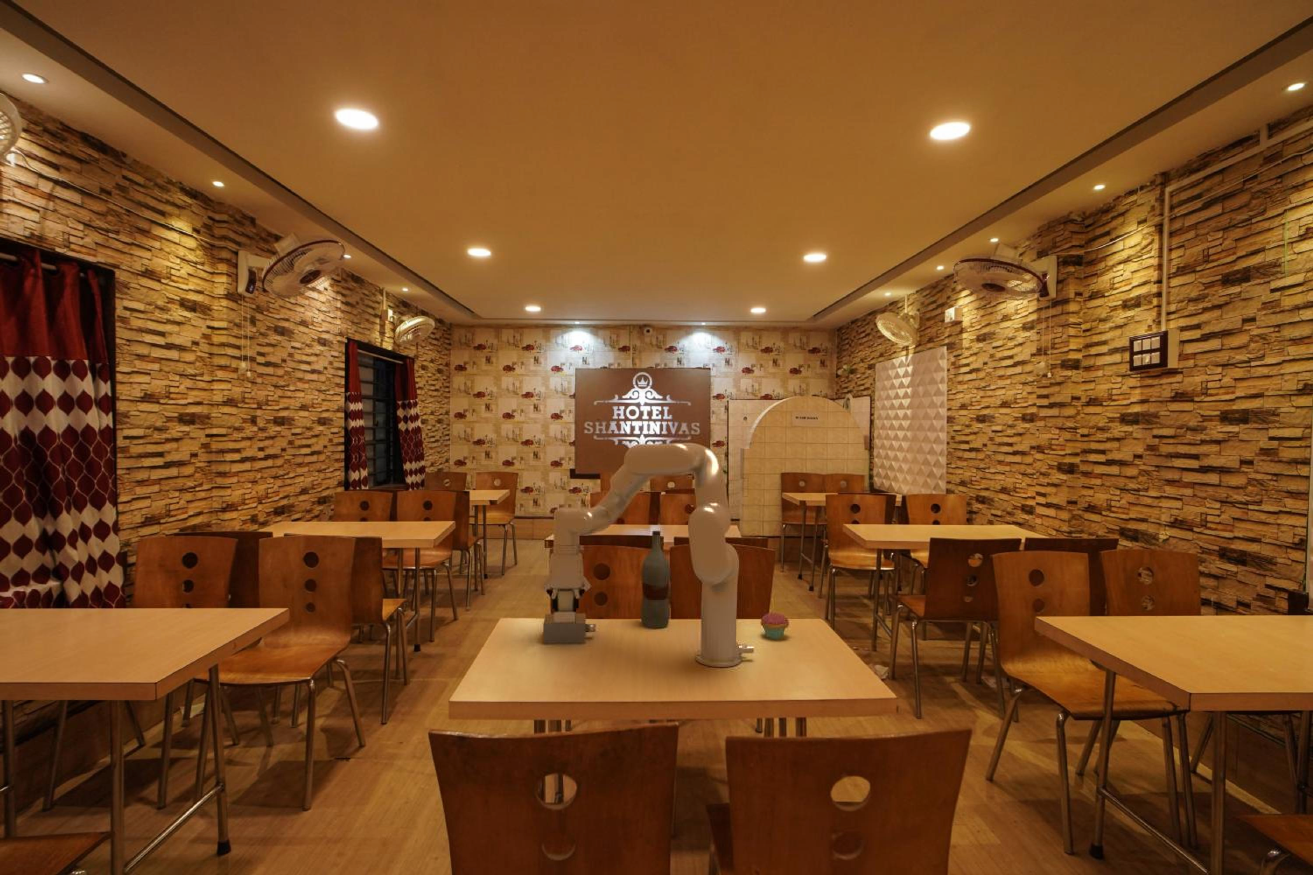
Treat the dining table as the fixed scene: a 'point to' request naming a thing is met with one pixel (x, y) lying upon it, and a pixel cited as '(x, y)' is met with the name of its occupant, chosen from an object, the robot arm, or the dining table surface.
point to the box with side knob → (566, 628)
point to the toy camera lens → (565, 600)
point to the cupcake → (774, 624)
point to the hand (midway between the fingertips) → (565, 610)
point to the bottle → (655, 587)
